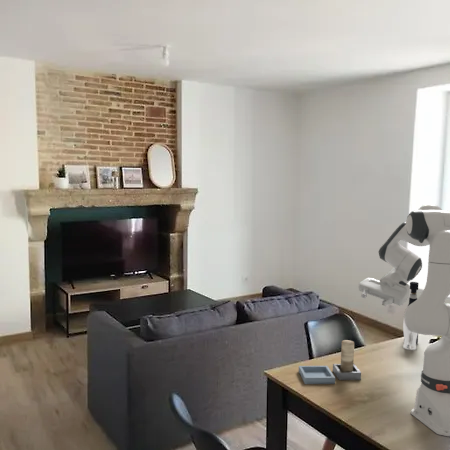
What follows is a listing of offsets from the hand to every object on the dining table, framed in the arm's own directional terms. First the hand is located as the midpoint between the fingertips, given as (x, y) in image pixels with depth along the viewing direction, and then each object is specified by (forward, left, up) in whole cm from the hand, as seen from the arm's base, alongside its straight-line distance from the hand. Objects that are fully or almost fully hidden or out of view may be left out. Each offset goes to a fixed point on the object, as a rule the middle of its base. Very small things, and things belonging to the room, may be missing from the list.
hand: (373, 300), depth 205 cm
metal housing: (-3, +11, -31) cm, 33 cm away
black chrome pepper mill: (+36, -33, -31) cm, 58 cm away
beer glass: (+28, -29, -31) cm, 51 cm away
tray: (-5, +24, -31) cm, 39 cm away
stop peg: (-3, +11, -31) cm, 33 cm away
